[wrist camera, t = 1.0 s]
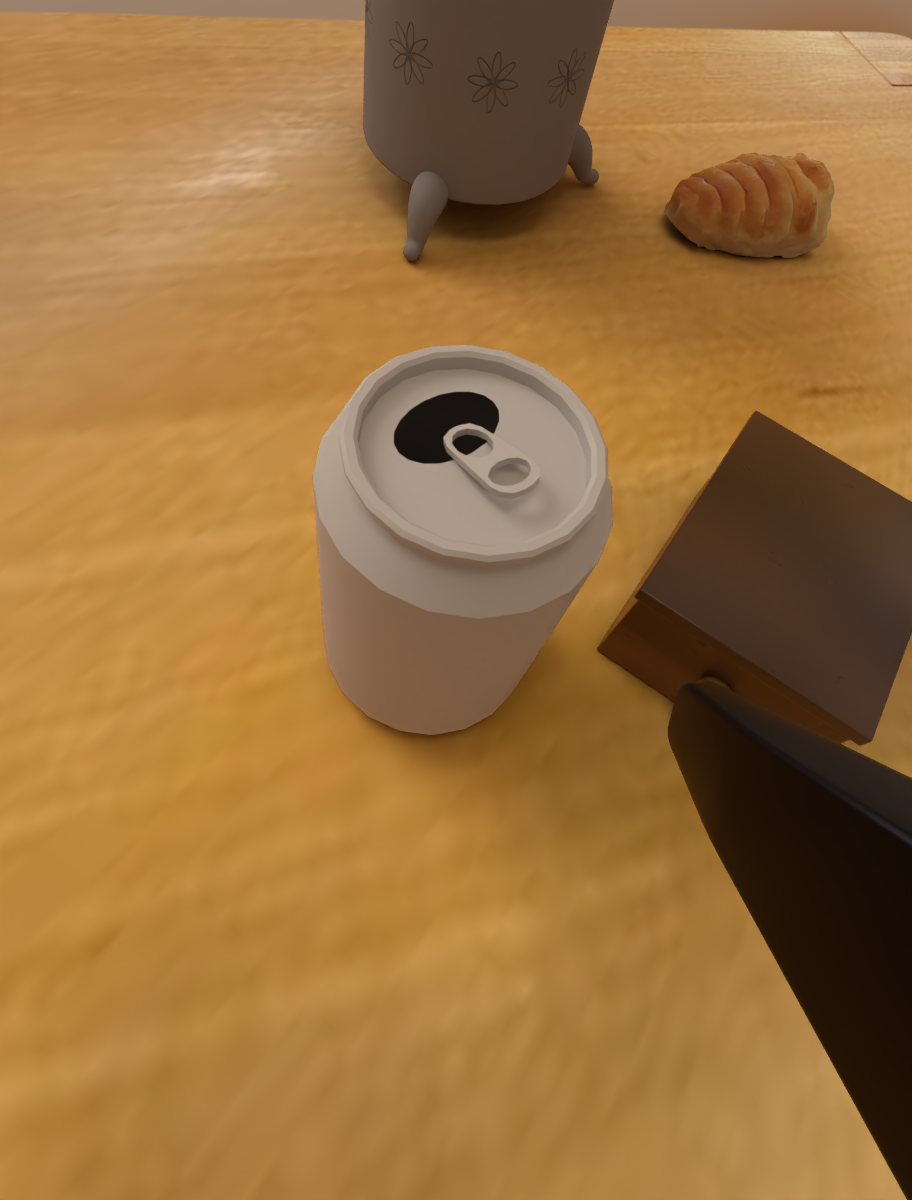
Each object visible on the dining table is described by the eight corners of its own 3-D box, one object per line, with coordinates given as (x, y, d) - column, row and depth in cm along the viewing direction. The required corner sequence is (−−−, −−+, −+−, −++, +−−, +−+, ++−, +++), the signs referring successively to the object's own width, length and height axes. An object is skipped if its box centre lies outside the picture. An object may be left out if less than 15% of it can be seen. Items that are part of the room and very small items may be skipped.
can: (439, 529, 28) (495, 280, 18) (559, 664, 26) (704, 473, 16) (284, 625, 25) (240, 394, 15) (407, 785, 23) (458, 651, 13)
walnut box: (770, 794, 25) (865, 760, 20) (580, 663, 26) (629, 604, 22) (859, 589, 30) (952, 524, 25) (695, 488, 31) (755, 409, 27)
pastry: (688, 270, 39) (720, 205, 35) (641, 197, 41) (667, 130, 38) (821, 260, 41) (863, 198, 38) (768, 191, 44) (803, 128, 40)
